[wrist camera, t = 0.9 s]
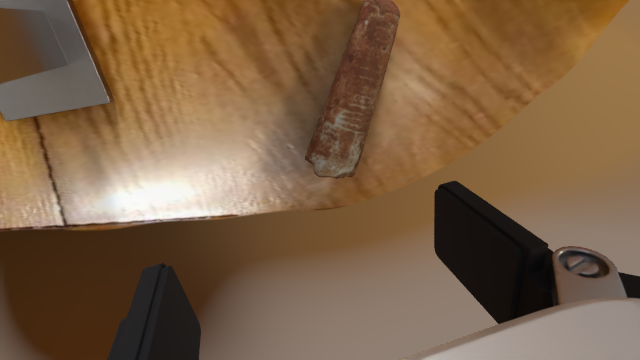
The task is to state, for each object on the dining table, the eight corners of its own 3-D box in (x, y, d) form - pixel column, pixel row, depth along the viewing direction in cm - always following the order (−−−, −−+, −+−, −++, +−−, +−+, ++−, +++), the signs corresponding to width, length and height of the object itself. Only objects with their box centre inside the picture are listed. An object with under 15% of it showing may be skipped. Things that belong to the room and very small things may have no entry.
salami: (298, 157, 40) (307, 176, 35) (357, -11, 34) (379, -17, 29) (343, 169, 42) (359, 188, 38) (407, 13, 36) (435, 12, 31)
